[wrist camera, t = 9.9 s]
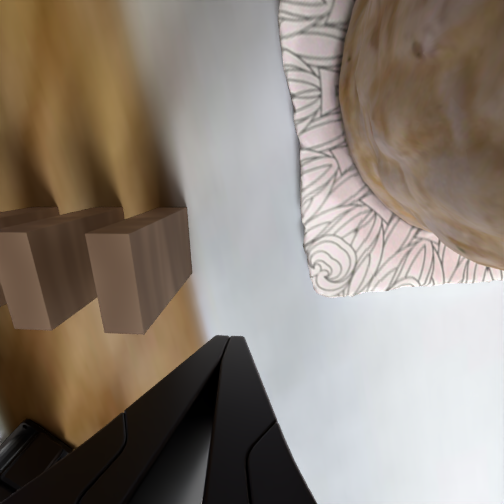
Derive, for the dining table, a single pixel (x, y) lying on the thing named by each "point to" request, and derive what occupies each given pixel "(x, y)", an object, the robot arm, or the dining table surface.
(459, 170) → the cookie jar
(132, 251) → the domino
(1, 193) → the dining table surface
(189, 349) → the dining table surface
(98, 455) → the robot arm
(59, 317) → the domino
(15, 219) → the domino
